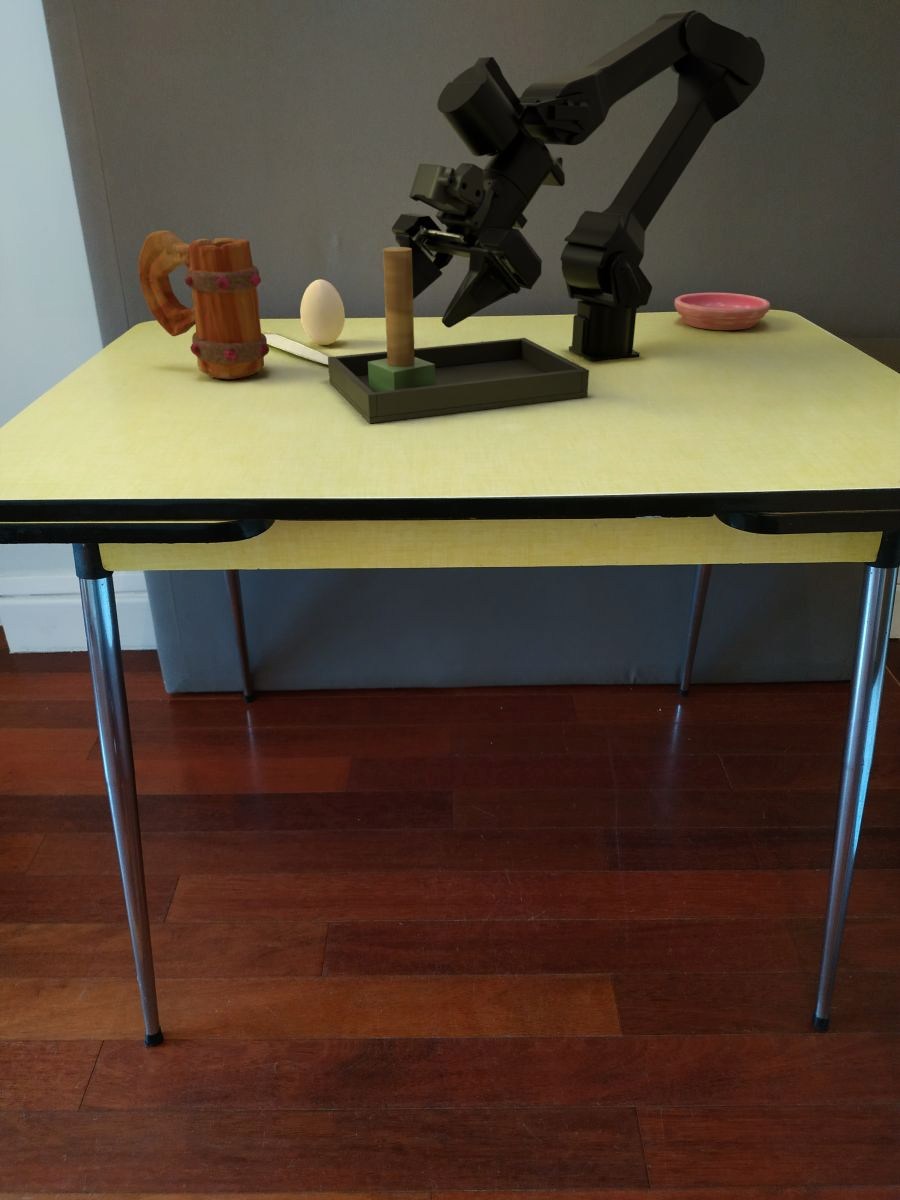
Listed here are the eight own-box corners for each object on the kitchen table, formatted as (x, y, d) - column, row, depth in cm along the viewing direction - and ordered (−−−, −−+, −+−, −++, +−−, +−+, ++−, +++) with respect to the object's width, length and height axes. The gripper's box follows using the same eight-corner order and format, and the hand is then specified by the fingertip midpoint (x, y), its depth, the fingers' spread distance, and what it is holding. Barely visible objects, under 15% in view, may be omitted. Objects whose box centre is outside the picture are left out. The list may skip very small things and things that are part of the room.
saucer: (669, 313, 130) (671, 290, 129) (758, 315, 129) (762, 292, 127) (676, 332, 120) (678, 308, 118) (773, 335, 118) (777, 310, 117)
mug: (287, 368, 105) (274, 229, 98) (252, 387, 99) (235, 239, 91) (179, 358, 110) (159, 224, 102) (138, 376, 103) (113, 234, 96)
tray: (524, 361, 107) (524, 337, 106) (587, 396, 95) (589, 370, 93) (329, 382, 100) (327, 356, 99) (369, 423, 87) (368, 395, 86)
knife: (362, 373, 107) (327, 374, 104) (227, 321, 129) (195, 320, 126) (363, 362, 106) (328, 363, 103) (227, 311, 129) (195, 311, 126)
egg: (351, 340, 117) (347, 276, 113) (339, 350, 113) (335, 284, 109) (310, 339, 118) (305, 275, 114) (297, 349, 113) (291, 283, 110)
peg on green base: (408, 382, 98) (404, 243, 91) (435, 392, 94) (433, 249, 87) (368, 390, 95) (361, 248, 88) (394, 401, 92) (389, 254, 85)
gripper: (403, 128, 93) (318, 252, 93) (522, 132, 80) (424, 277, 80) (464, 205, 101) (386, 320, 101) (581, 220, 88) (492, 353, 88)
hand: (418, 317), depth 92 cm, fingers open, 9 cm apart
